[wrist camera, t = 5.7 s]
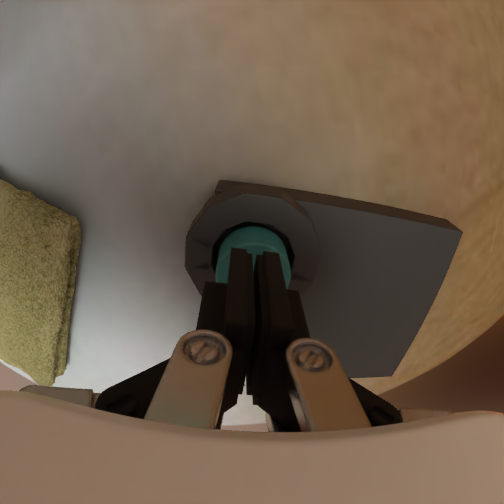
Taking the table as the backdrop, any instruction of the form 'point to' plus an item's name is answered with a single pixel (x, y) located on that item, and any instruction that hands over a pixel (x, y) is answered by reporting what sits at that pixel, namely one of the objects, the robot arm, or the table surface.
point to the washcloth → (36, 282)
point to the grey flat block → (338, 265)
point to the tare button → (251, 249)
